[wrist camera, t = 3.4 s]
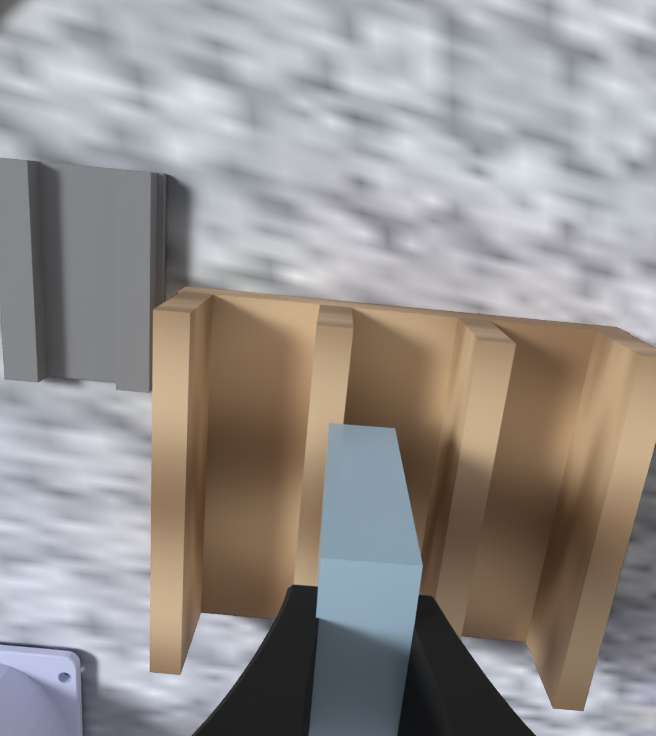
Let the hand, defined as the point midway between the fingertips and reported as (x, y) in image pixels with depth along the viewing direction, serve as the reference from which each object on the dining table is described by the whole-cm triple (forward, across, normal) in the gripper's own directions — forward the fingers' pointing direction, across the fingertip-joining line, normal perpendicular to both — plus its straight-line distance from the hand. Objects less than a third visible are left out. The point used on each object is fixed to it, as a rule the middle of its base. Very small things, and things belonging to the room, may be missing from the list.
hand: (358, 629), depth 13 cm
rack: (+9, -1, +1) cm, 9 cm away
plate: (+5, 0, 0) cm, 5 cm away
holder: (+9, +9, -5) cm, 14 cm away
